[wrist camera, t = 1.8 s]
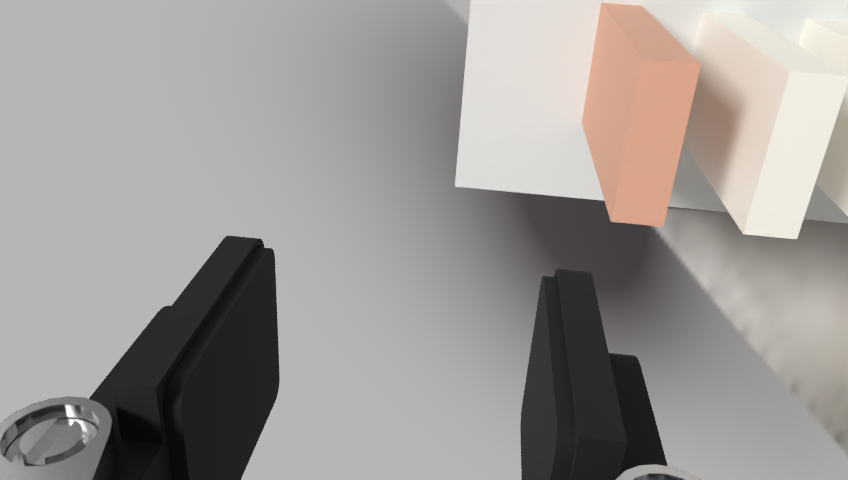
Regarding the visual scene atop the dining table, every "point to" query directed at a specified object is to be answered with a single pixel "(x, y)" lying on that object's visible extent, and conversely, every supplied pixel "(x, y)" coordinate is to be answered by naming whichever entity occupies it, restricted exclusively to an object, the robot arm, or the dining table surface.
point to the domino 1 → (637, 112)
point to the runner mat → (580, 93)
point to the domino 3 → (844, 158)
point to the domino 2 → (760, 121)
